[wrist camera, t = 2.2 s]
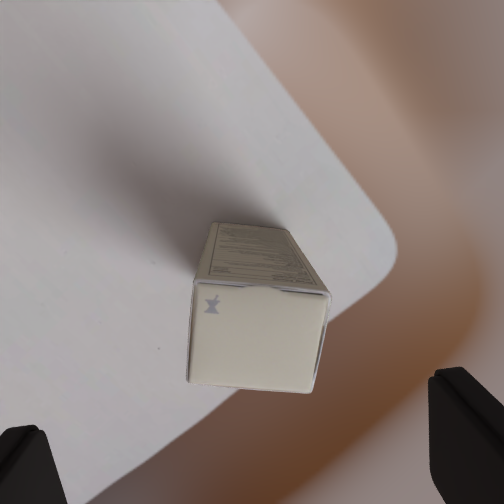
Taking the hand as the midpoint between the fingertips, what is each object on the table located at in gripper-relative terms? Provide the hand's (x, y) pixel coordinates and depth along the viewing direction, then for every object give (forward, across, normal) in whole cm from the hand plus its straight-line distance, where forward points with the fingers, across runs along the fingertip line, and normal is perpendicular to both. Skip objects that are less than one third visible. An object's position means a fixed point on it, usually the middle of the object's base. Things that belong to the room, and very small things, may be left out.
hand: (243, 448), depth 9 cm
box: (+16, -1, 0) cm, 16 cm away
